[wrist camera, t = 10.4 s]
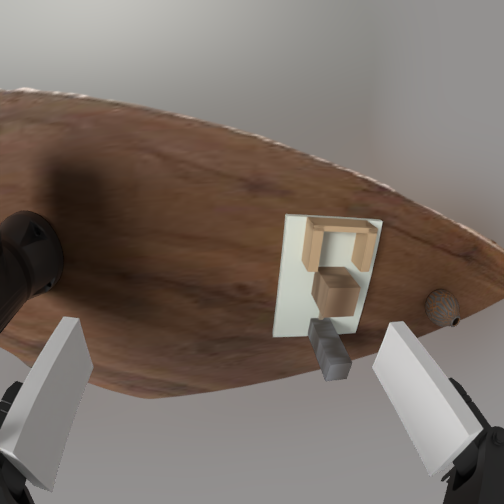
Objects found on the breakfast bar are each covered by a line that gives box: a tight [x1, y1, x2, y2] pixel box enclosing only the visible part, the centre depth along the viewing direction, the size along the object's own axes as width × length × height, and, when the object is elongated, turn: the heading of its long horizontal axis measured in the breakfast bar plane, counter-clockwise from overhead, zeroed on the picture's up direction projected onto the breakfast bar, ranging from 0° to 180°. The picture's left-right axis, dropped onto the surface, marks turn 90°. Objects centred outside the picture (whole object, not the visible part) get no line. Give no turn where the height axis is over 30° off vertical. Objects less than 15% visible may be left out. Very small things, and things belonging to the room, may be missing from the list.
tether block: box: [308, 266, 361, 381], centre depth 45 cm, size 5×14×12 cm, turn 177°
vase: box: [425, 289, 460, 327], centre depth 50 cm, size 7×7×9 cm
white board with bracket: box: [272, 214, 383, 337], centre depth 47 cm, size 16×22×5 cm
